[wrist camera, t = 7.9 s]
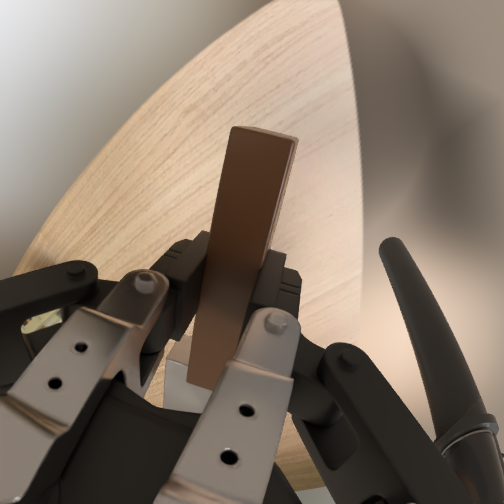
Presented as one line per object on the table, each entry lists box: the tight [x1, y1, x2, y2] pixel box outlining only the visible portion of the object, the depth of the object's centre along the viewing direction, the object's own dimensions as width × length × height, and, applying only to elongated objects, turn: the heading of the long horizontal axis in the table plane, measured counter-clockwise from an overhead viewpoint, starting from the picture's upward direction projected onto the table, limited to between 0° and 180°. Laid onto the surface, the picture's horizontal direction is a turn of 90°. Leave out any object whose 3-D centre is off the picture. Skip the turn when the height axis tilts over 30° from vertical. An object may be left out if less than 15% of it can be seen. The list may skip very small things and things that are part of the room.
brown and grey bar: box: [163, 126, 299, 413], centre depth 13 cm, size 18×4×3 cm, turn 169°
